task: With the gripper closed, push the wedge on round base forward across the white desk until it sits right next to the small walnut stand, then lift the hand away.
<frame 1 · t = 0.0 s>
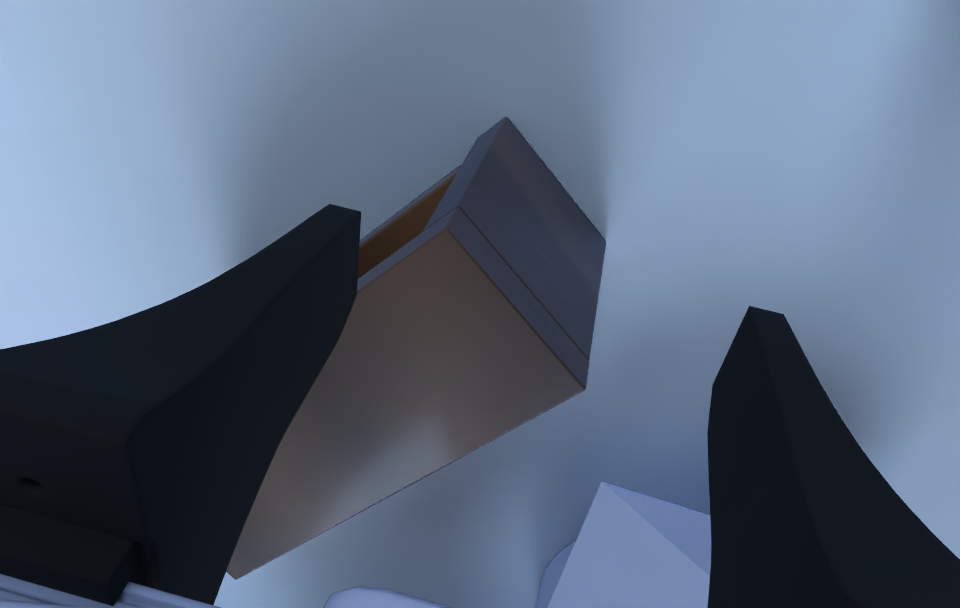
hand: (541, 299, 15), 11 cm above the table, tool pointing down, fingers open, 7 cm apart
walnut stand: (405, 286, 28), on the table
wedge on round base: (667, 573, 33), on the table
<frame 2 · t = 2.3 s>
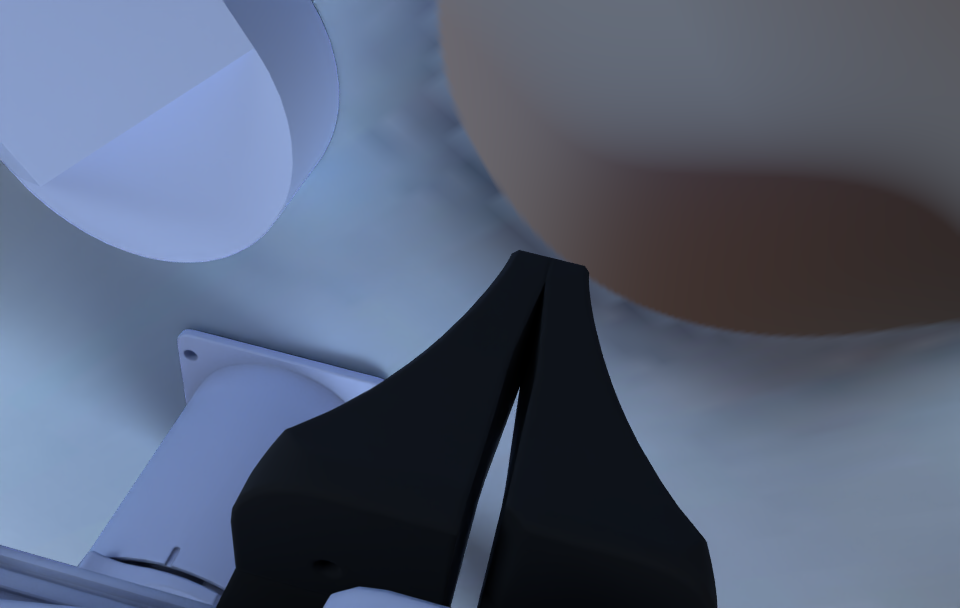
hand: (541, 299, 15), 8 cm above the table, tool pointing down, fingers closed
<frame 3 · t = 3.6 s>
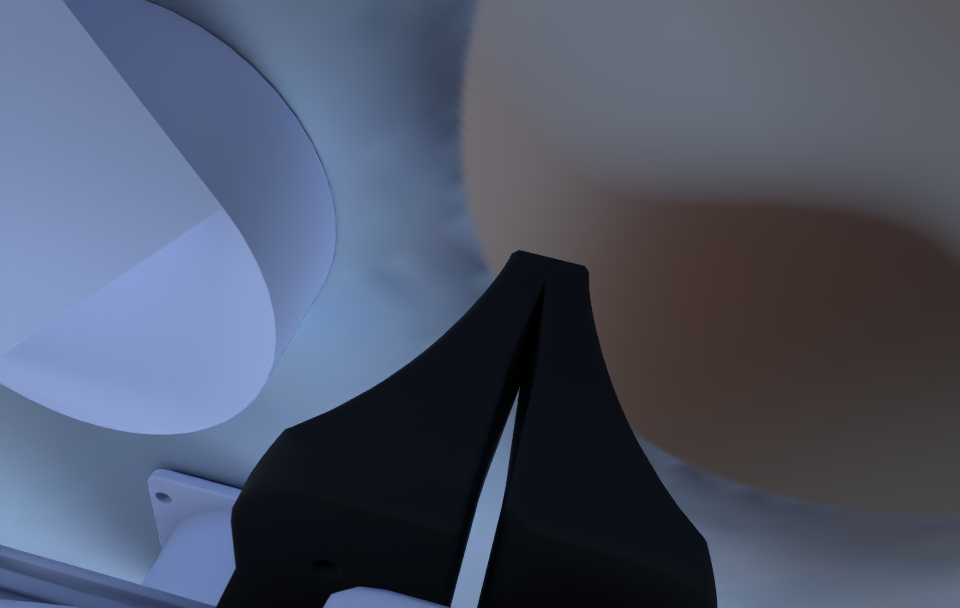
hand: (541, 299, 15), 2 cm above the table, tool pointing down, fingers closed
wedge on round base: (90, 108, 18), on the table
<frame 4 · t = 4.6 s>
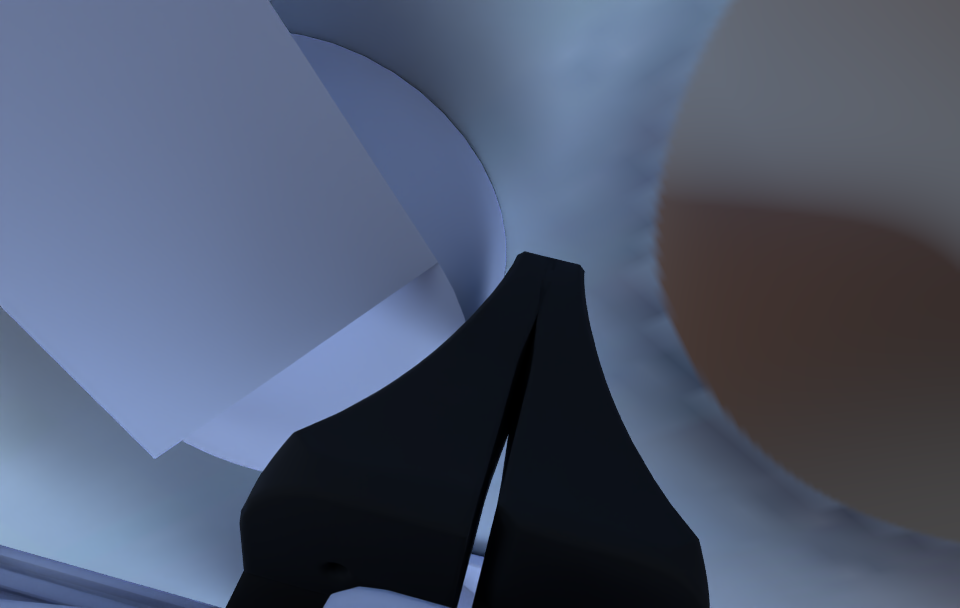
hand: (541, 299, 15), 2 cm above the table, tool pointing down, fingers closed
wedge on round base: (257, 149, 18), on the table, touching gripper
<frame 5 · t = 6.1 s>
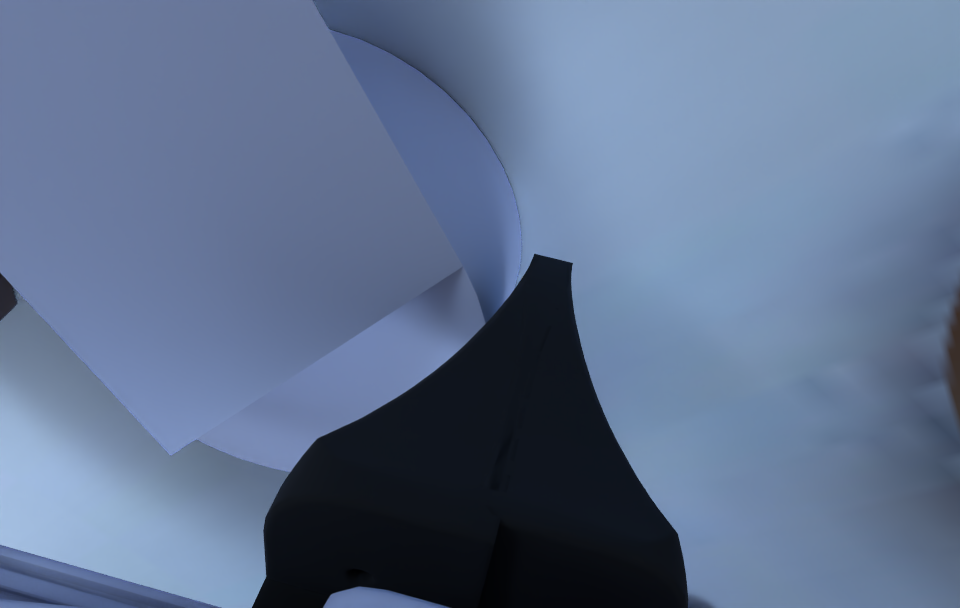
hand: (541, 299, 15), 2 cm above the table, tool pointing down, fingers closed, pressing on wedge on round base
wedge on round base: (273, 142, 18), on the table, touching gripper, walnut stand
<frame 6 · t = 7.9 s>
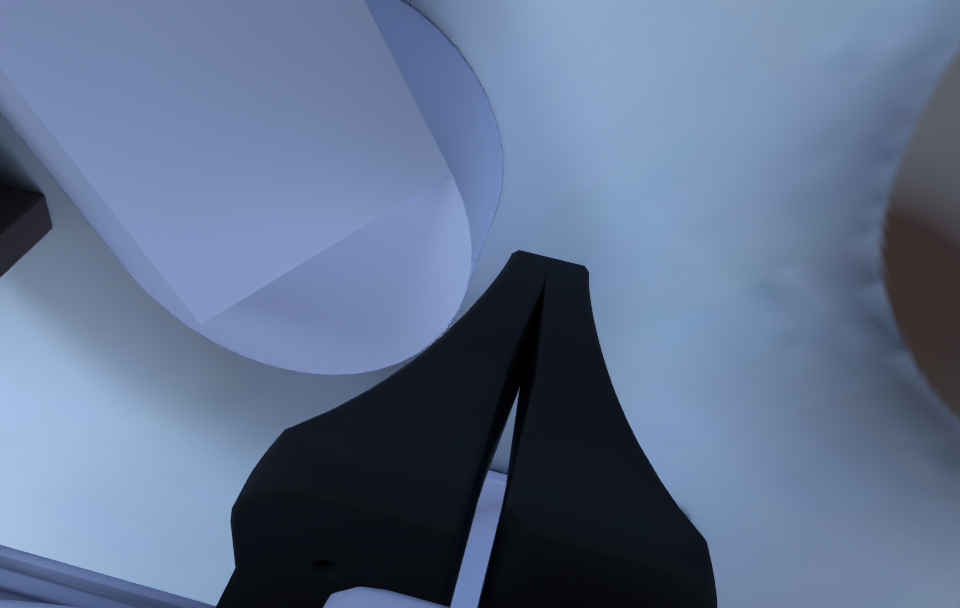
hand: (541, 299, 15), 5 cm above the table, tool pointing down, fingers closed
wedge on round base: (286, 74, 20), on the table
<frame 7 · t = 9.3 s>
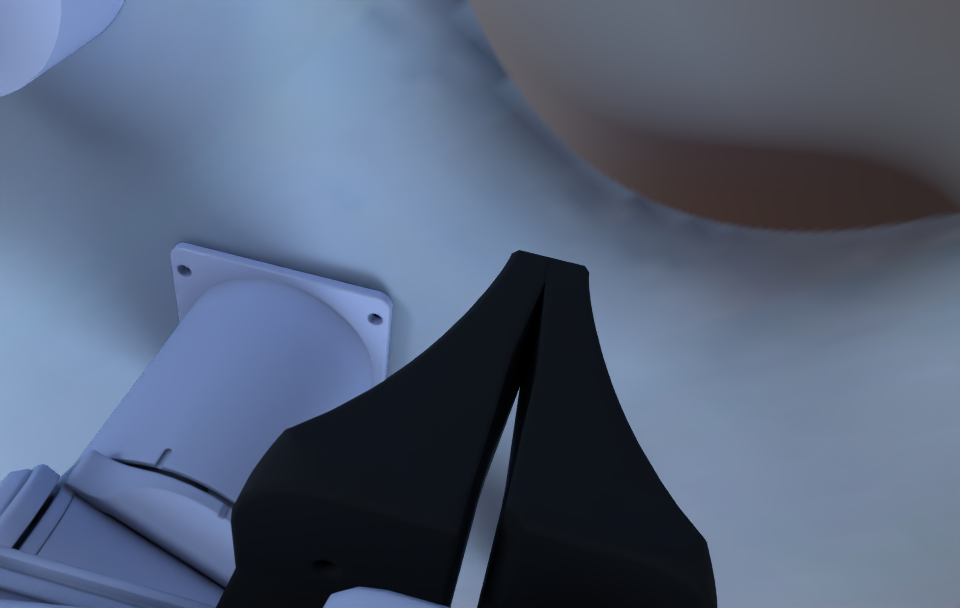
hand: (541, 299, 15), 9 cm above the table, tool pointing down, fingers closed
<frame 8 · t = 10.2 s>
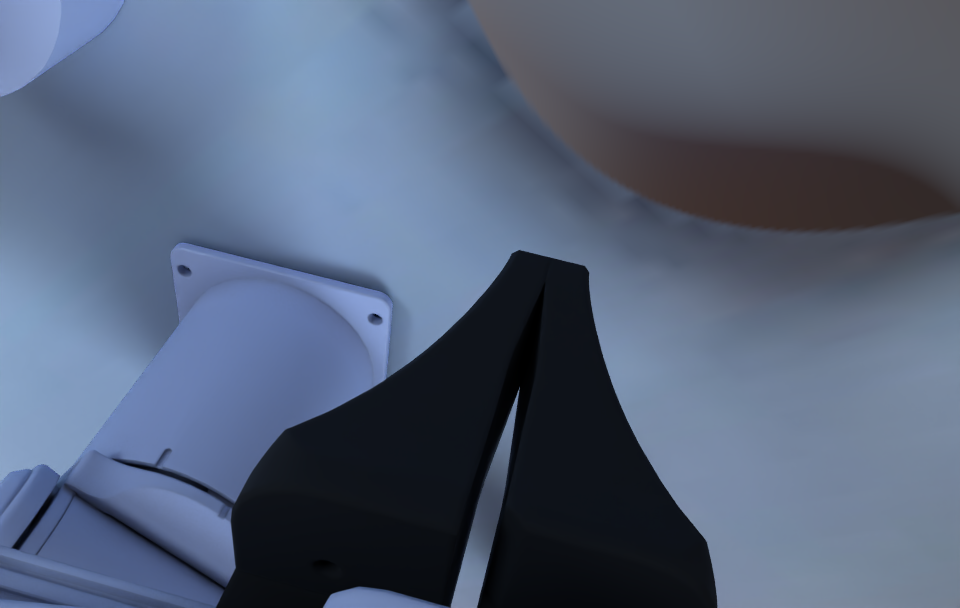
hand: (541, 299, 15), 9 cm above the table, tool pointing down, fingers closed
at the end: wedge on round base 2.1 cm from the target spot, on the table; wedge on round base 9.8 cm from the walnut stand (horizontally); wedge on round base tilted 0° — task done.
